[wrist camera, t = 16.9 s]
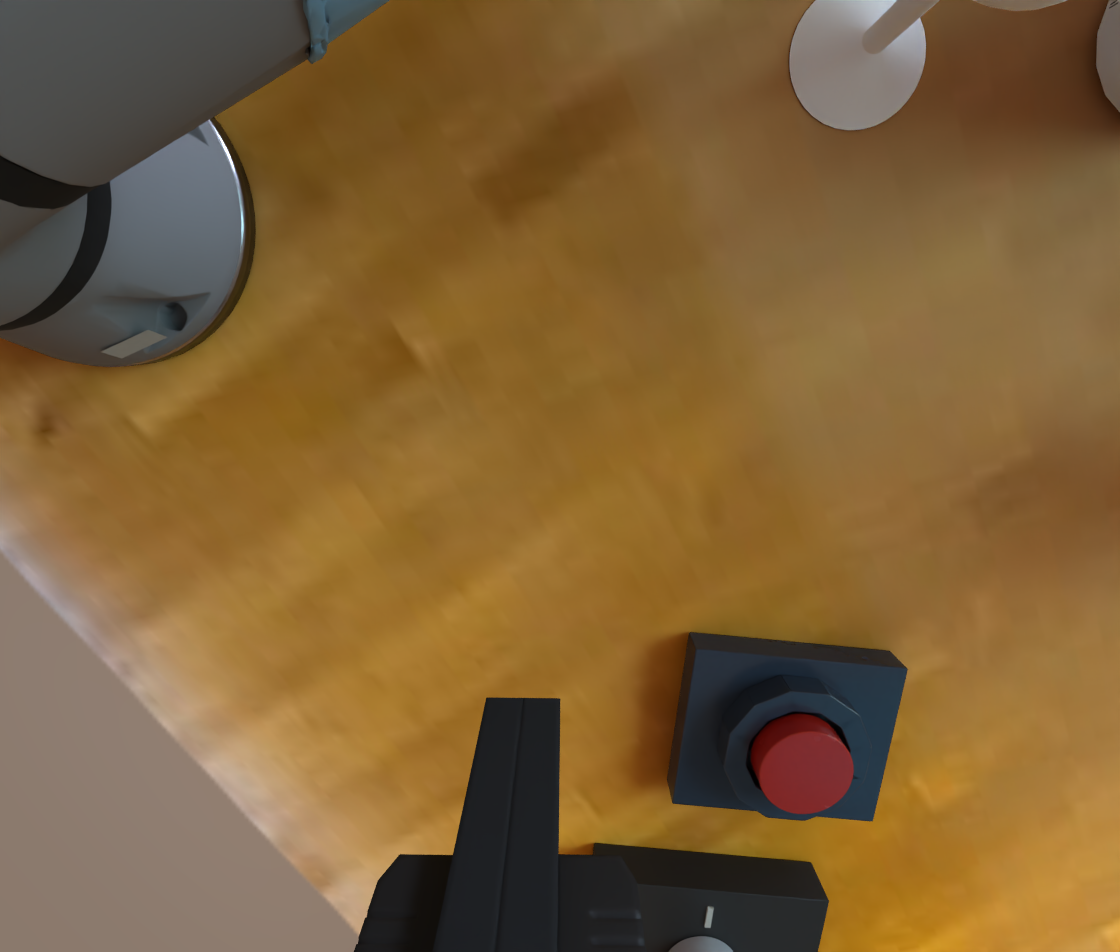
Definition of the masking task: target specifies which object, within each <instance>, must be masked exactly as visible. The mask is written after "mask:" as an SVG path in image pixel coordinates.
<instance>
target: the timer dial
mask: <svg viewBox="0 0 1120 952" xmlns="http://www.w3.org/2000/svg"><path fill="white" fill-rule="evenodd" d="M669 952H733V950H732V949H731V948H730V947H729V946H728V945H727V944H725V943H724V942H722V941H720V940H718V939H715V938H712V937H706V936H697V937H691V938H687V939H685V940H682V941H680V942H679V943H677V944H676V945H674V946H673V947H672V948H671V949H670V950H669Z"/></svg>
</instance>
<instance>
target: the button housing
mask: <svg viewBox="0 0 1120 952" xmlns="http://www.w3.org/2000/svg"><path fill="white" fill-rule="evenodd" d="M906 674H907V668H906V667H905V666H904V665H903V664H902V663H901V662H900V661H899V660H898V659H897V658H896V657H895V656H894V655H893V654H892V653H891V652H890V651H886V650H875V649H865V648H854V647H843V646H833V645H822V644H811V643H801V642H790V641H779V640H769V639H758V638H747V637H737V636H726V635H715V634H705V633H694V632H689V636H688V643H687V649H686V656H685V663H684V669H683V676H682V683H681V689H680V696H679V703H678V709H677V716H676V722H675V729H674V736H673V742H672V749H671V756H670V762H669V769H668V776H667V782H668V786H669V791H670V795H671V799H672V803H673V804H684V805H695V806H706V807H717V808H728V809H739V810H750V811H758V812H759V813H761V814H762V815H764V816H765V817H768V818H778V819H790V820H801V821H803V820H804V821H805V820H808V819H811V818H814V817H816V816H817V817H828V818H839V819H850V820H861V821H873V818H874V814H875V809H876V805H877V800H878V796H879V792H880V787H881V783H882V779H883V774H884V770H885V766H886V761H887V757H888V753H889V748H890V744H891V740H892V735H893V731H894V727H895V722H896V718H897V714H898V709H899V705H900V701H901V696H902V692H903V687H904V683H905V679H906ZM789 714H809V715H812V716H816V717H818V718H820V719H822V720H824V721H826V722H827V723H828V724H829V725H830V726H831V727H832V728H833V729H834V730H835V732H836V733H837V734H838V736H839V737H840V739H841V740H842V742H843V743H844V745H845V746H846V748H847V749H848V751H849V753H850V755H851V757H852V760H853V770H854V773H853V779H852V782H851V785H850V787H849V789H848V790H847V792H846V793H845V795H844V796H843V797H842V798H841V799H840V800H839V801H838V802H837V803H835V804H834V805H833V806H831V807H829V808H827V809H825V810H823V811H820V812H816V813H811V814H795V813H790V812H787V811H784V810H782V809H780V808H778V807H777V806H775V805H774V804H773V803H771V802H770V801H769V800H768V799H767V797H766V796H765V795H764V793H763V791H762V789H761V787H760V784H759V782H758V780H757V777H756V775H755V773H754V770H753V767H752V764H751V749H752V746H753V743H754V740H755V738H756V737H757V735H758V734H759V732H760V731H761V730H762V729H763V728H764V727H765V726H766V725H767V724H769V723H770V722H772V721H773V720H775V719H777V718H779V717H782V716H785V715H789Z"/></svg>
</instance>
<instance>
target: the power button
mask: <svg viewBox="0 0 1120 952" xmlns="http://www.w3.org/2000/svg"><path fill="white" fill-rule="evenodd" d="M751 764H752V767H753V770H754V773H755V775H756V777H757V780H758V782H759V784H760V787H761V789H762V791H763V793H764V795H765V796H766V797H767V799H768V800H769V801H770V802H771V803H773V804H774V805H775V806H777V807H778V808H780V809H782V810H784V811H787V812H790V813H795V814H811V813H816V812H820V811H823V810H825V809H827V808H829V807H831V806H833V805H834V804H835V803H837V802H838V801H839V800H840V799H841V798H842V797H843V796H844V795H845V793H846V792H847V790H848V789H849V787H850V785H851V782H852V779H853V773H854V770H853V760H852V757H851V755H850V753H849V751H848V749H847V748H846V746H845V745H844V743H843V742H842V740H841V739H840V737H839V736H838V734H837V733H836V732H835V730H834V729H833V728H832V727H831V726H830V725H829V724H828V723H827V722H826V721H824V720H822V719H820V718H818V717H816V716H812V715H809V714H789V715H785V716H782V717H779V718H777V719H775V720H773V721H772V722H770V723H769V724H767V725H766V726H765V727H764V728H763V729H762V730H761V731H760V732H759V734H758V735H757V737H756V738H755V740H754V743H753V746H752V749H751Z"/></svg>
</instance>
